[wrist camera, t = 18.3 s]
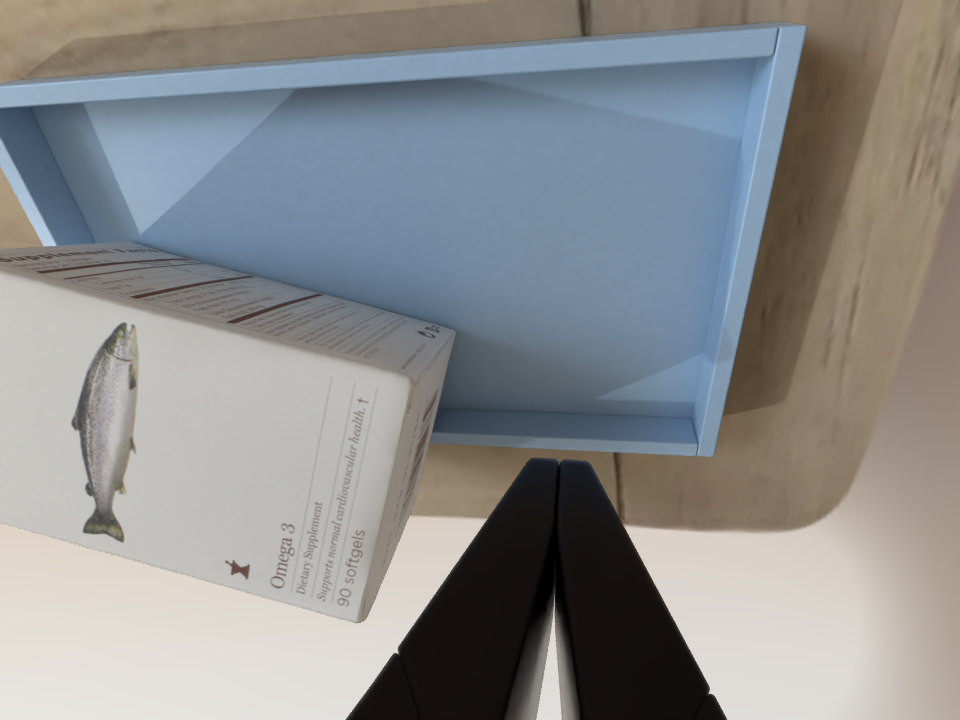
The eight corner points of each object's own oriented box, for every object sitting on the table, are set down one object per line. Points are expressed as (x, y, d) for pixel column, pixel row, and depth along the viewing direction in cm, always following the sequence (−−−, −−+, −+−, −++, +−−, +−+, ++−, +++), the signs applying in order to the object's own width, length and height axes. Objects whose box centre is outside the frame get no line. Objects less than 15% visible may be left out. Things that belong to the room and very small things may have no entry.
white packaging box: (363, 636, 14) (-84, 515, 15) (419, 500, 21) (118, 421, 22) (418, 376, 12) (-94, 246, 13) (460, 321, 20) (129, 238, 20)
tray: (781, 21, 14) (809, 24, 12) (703, 421, 21) (714, 457, 19) (15, 80, 18) (-43, 88, 16) (171, 401, 25) (141, 429, 23)
